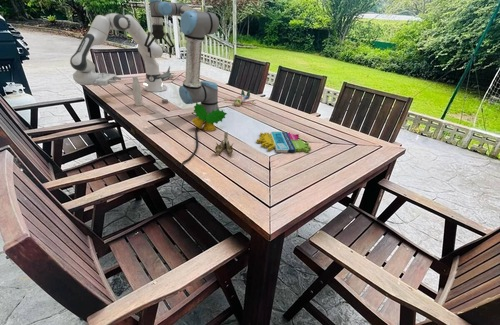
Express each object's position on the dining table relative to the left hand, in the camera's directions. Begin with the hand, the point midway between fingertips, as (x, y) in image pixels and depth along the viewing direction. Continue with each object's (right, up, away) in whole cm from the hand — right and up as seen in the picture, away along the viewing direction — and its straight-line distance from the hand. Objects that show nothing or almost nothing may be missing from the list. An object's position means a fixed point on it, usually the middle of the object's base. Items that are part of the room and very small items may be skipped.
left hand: (118, 80), depth 188 cm
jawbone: (+82, -54, -50) cm, 109 cm away
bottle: (+11, -16, +9) cm, 21 cm away
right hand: (+30, +17, +1) cm, 35 cm away
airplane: (+5, +28, +86) cm, 90 cm away
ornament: (+70, -38, -24) cm, 83 cm away
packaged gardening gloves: (+114, -48, -36) cm, 129 cm away
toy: (+88, -8, +33) cm, 94 cm away
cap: (+28, -11, +16) cm, 34 cm away
